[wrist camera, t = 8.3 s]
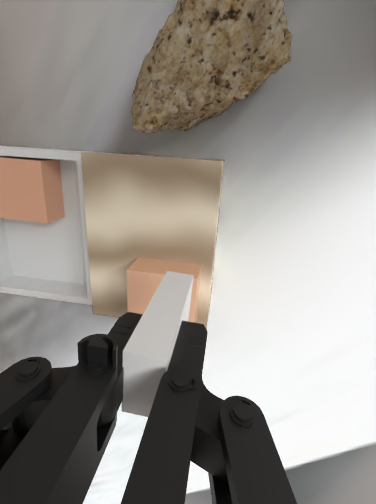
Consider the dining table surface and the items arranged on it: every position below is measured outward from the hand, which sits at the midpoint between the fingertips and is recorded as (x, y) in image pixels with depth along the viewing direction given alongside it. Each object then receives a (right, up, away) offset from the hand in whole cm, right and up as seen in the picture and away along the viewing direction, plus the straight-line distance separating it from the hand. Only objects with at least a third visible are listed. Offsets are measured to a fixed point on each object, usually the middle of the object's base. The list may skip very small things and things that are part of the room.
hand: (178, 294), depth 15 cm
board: (-2, +4, +14) cm, 15 cm away
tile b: (-1, -1, +11) cm, 11 cm away
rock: (+2, +19, +9) cm, 21 cm away
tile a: (-16, +8, +11) cm, 22 cm away
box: (-15, +6, +16) cm, 23 cm away
